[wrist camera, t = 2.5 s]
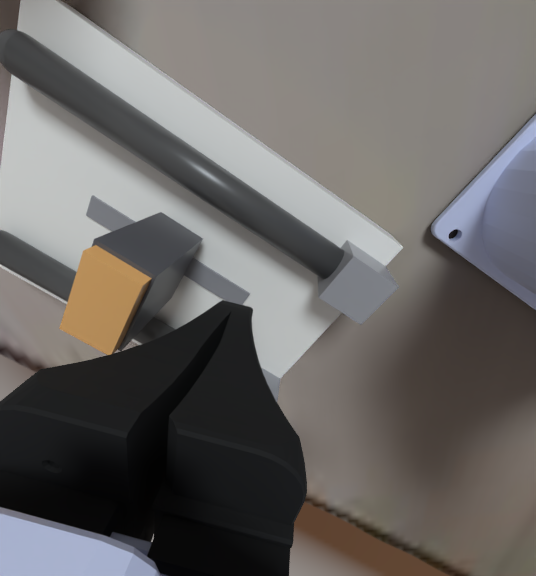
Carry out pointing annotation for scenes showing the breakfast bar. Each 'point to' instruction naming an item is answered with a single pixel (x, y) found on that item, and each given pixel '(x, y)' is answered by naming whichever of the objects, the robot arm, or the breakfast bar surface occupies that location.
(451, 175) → the breakfast bar surface
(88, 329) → the block
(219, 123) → the strip
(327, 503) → the breakfast bar surface
